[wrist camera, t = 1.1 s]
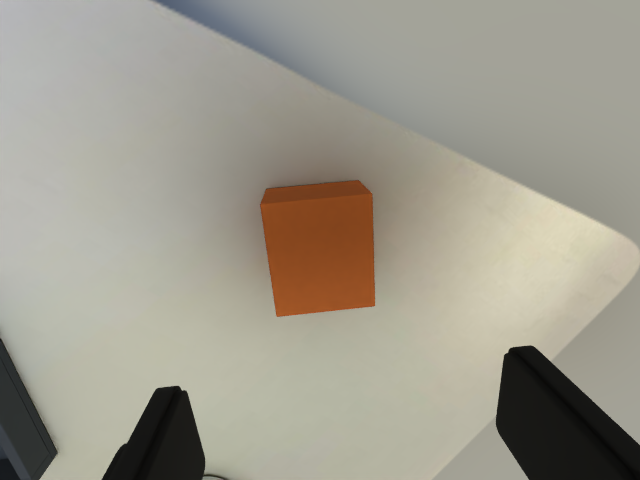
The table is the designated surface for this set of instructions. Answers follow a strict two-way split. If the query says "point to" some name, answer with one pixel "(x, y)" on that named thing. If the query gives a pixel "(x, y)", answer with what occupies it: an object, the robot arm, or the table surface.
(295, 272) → the orange block
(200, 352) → the table surface
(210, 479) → the supplement bottle
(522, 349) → the robot arm
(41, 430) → the tray
